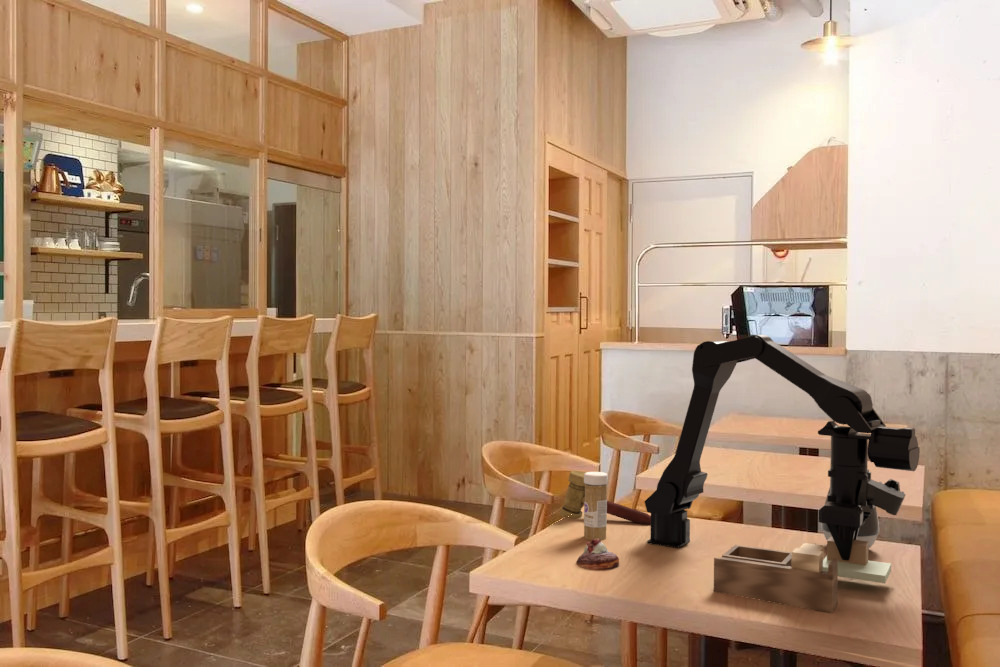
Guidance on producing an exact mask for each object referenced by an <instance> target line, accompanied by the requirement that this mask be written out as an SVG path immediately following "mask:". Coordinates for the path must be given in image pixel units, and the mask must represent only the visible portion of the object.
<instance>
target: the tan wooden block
mask: <svg viewBox="0 0 1000 667" xmlns="http://www.w3.org/2000/svg"><path fill="white" fill-rule="evenodd" d="M791 552H792V559H791V568H792V569H799V570H806V571H813V572H820V573H821V571H822V570H823V560H824V555H825V545H823V544H816V543H815V544H814V543H807V542H804V543H802V545H801V546H800V547H795V548H794V549H793V550H792V551H791Z"/></svg>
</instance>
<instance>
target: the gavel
mask: <svg viewBox="0 0 1000 667" xmlns="http://www.w3.org/2000/svg"><path fill="white" fill-rule="evenodd" d="M585 473H586V472H583V471H580V470H579V471H578V470H571V471H570V472H569V476H568V482H569V484H568V486H567V491H566V493H565V494H566V495H565V498H564V503H563V505H562V506H561V508H560V512H559V517H562V518H565V519H579V518H580V519H581V518H582V516H583V511H582V509H583V508H584V502H585V483H584V474H585ZM571 514H572V515H571ZM607 515H611V516H614V517H618V518H620V519H623V520H626V521H629V522H632V523H635V524H637V525H638V524H639V525H645V526H646V525H647V526H648V525H650V526H651V514H650V513H648V512H647V513H646V512H644V511H640V510H637V509H634V508H631V507H629V506H625V505H623V504H622V505H621V504H619V503H615V502H612V501H610V500H607ZM568 516H569V517H568Z"/></svg>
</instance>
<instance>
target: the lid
mask: <svg viewBox="0 0 1000 667" xmlns="http://www.w3.org/2000/svg"><path fill="white" fill-rule="evenodd" d="M868 547H869V542H868V541H860V540H853V545H852V550H851V555H850V559H849V560H848V561H847V560H842V558H841V556H840V554H839V551H838V549H837V547H836V544H835V542H834V540H833V537H830V538H829V539H828V540H826V556H825V557H823V570H822V571H826V572H828V565H829V563H830V562H831V561H832V560H833V558H836V559H838V577H840V578H845V579H853V580H859V581H865V582H872V583H873V582H874V583H879V584H886V583H887V581H888V579H889V576H890V574H891V573H892V563H890V562H883V561H882V562H881V561H876V560H869V549H868Z"/></svg>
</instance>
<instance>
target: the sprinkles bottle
mask: <svg viewBox="0 0 1000 667" xmlns="http://www.w3.org/2000/svg"><path fill="white" fill-rule="evenodd" d="M584 473H585V474H584V483H585V502H584V505H583V513H584V514H583V527H584V528H583V530H584V531H583V538H585V539H586V540H590V541H592V540H593V539H598V538H599V539H600V541H604V540H606V539H607V524H608V522H607V521H608V519H607V518H608V517H607V516H608V513H607V501H608V498H607V494H608V493H607V491H608V490H607V485H608V480H609V479H608V473H606V472H603V471H587V472H584Z"/></svg>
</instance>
